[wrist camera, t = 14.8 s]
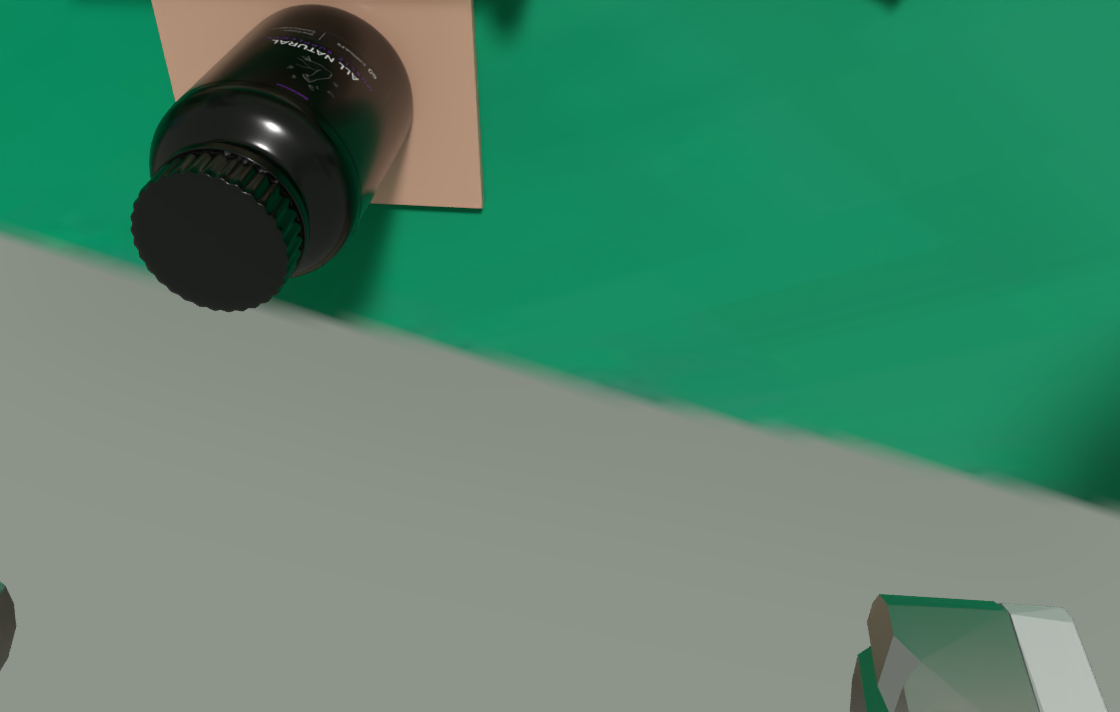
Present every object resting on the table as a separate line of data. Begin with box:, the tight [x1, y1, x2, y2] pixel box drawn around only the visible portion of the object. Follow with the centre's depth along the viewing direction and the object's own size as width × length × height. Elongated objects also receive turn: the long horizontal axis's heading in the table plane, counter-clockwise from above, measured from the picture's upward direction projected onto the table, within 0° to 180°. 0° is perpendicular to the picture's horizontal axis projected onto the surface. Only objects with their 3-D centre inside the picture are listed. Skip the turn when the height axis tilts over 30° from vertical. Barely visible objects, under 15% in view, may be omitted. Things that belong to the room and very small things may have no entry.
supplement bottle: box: [130, 4, 413, 312], centre depth 35 cm, size 7×7×12 cm
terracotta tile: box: [151, 0, 484, 208], centre depth 40 cm, size 12×10×1 cm
